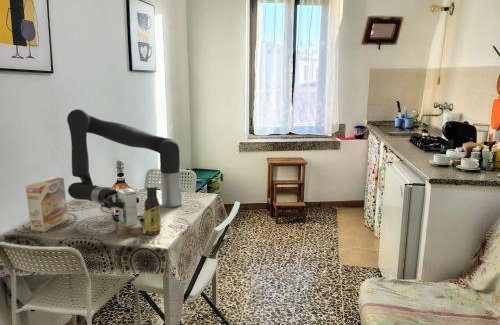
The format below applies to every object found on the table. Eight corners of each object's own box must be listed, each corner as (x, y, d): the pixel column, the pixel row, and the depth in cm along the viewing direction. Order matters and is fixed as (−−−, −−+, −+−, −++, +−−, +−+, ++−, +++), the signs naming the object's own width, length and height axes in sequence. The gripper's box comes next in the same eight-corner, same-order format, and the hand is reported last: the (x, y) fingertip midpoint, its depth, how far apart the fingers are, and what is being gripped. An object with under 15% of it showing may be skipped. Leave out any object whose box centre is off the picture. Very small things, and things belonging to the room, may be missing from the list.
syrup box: (119, 223, 156) (116, 190, 152) (132, 220, 159) (130, 187, 156) (124, 227, 151) (122, 193, 148) (138, 224, 155) (136, 190, 152)
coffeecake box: (44, 232, 155) (39, 186, 151) (30, 230, 156) (24, 185, 152) (68, 219, 169) (64, 177, 165) (55, 217, 171) (50, 176, 166)
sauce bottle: (152, 237, 151) (150, 189, 146) (142, 233, 154) (139, 187, 149) (164, 231, 156) (162, 185, 152) (153, 228, 159) (151, 183, 155)
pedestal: (140, 225, 162) (139, 218, 162) (143, 234, 153) (142, 226, 153) (115, 228, 159) (115, 221, 158) (117, 237, 150) (117, 230, 149)
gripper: (89, 192, 154) (115, 199, 145) (117, 183, 166) (143, 190, 157) (90, 209, 155) (117, 217, 147) (119, 200, 167) (144, 206, 159)
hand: (130, 203), depth 152 cm, fingers open, 7 cm apart
